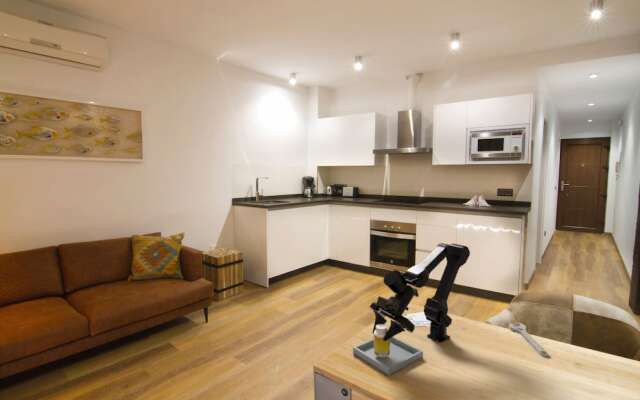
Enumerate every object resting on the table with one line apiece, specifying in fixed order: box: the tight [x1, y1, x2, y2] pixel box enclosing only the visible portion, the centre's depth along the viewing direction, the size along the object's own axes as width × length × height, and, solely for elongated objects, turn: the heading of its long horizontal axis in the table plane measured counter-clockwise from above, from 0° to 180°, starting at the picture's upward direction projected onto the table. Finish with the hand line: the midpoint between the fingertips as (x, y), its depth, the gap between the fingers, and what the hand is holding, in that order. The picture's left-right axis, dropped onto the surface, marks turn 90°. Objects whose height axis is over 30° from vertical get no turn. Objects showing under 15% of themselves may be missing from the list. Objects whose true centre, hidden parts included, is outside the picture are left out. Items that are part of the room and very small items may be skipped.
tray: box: [352, 336, 424, 377], centre depth 125 cm, size 18×18×2 cm
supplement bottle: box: [373, 324, 390, 357], centre depth 123 cm, size 6×6×10 cm
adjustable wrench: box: [508, 321, 549, 358], centre depth 134 cm, size 25×6×2 cm, turn 169°
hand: (378, 337), depth 122 cm, fingers closed on supplement bottle, 6 cm apart
